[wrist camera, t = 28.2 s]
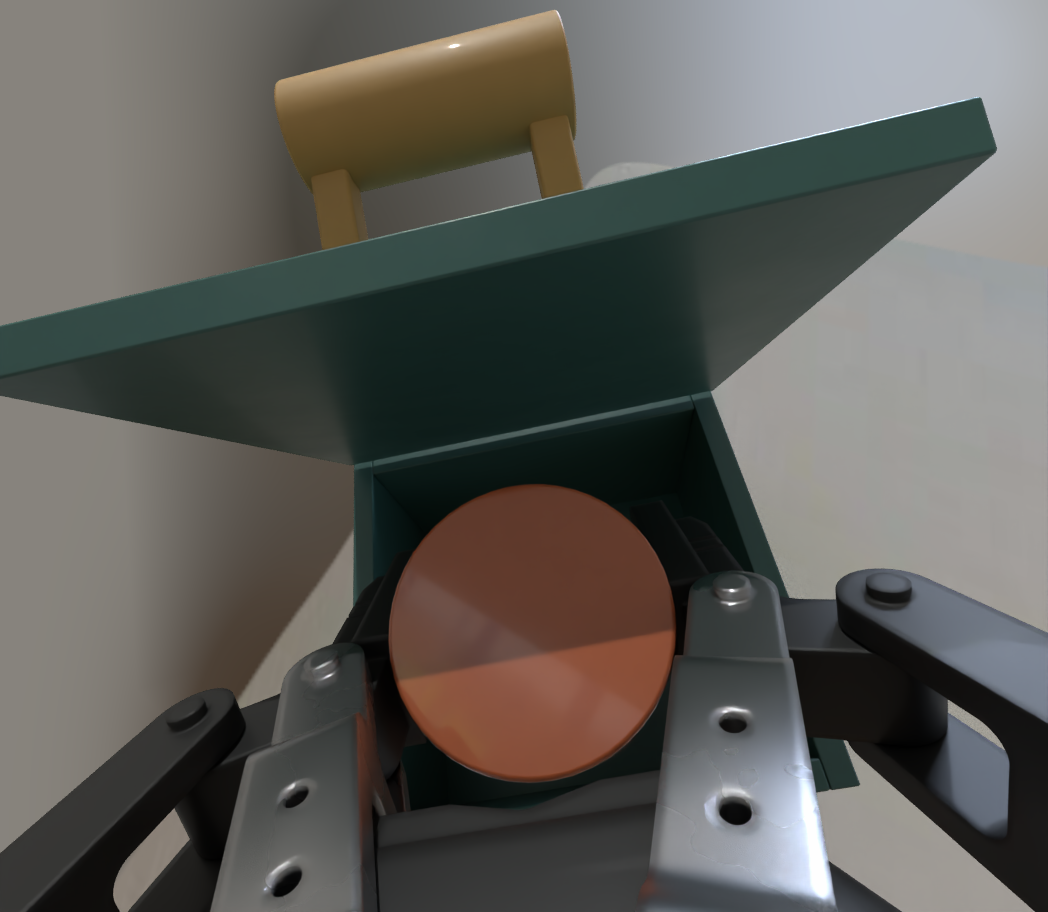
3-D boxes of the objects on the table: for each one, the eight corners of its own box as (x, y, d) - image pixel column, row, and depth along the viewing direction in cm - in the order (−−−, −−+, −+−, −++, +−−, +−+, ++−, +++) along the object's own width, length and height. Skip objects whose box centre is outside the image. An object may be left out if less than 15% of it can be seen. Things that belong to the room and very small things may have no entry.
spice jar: (500, 782, 15) (389, 808, 8) (482, 610, 17) (383, 510, 10) (672, 753, 14) (718, 754, 7) (630, 582, 17) (635, 458, 10)
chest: (780, 774, 23) (861, 785, 15) (438, 829, 24) (350, 865, 16) (686, 482, 29) (709, 387, 22) (421, 534, 30) (353, 461, 23)
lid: (1000, 150, 7) (892, -195, 8) (-44, 388, 8) (-71, 65, 9) (713, 390, 21) (683, 264, 22) (350, 465, 22) (330, 342, 23)
